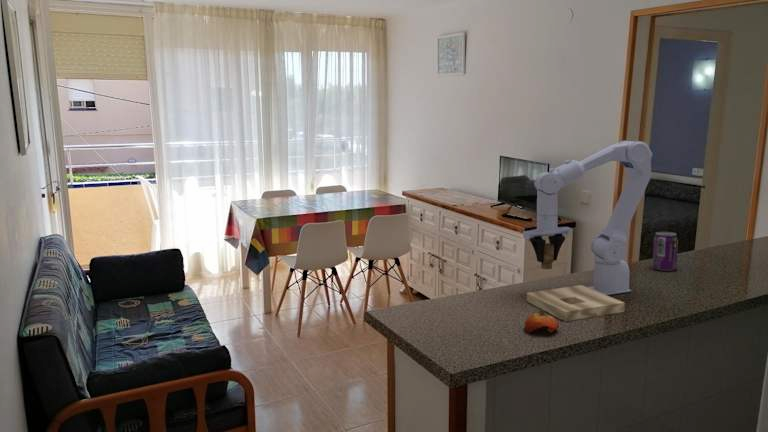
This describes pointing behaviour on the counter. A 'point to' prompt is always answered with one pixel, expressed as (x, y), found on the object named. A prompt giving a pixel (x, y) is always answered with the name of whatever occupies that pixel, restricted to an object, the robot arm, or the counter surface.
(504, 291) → the counter surface
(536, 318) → the tomato
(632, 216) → the robot arm
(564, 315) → the board
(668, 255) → the beverage can
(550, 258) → the peg
